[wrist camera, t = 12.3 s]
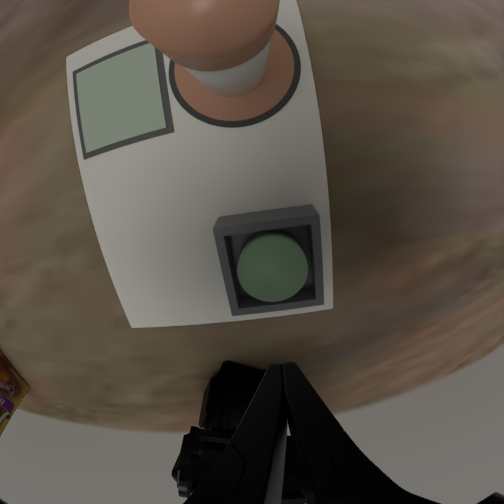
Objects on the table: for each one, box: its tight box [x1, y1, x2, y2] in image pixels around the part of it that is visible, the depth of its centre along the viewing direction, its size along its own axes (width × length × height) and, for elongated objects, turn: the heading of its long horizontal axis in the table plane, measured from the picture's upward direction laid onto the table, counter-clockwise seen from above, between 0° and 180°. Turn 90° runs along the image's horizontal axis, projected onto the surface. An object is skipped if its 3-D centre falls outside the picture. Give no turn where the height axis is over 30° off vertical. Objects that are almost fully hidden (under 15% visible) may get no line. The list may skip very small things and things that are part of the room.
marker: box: [129, 0, 280, 97], centre depth 9 cm, size 4×4×10 cm
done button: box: [237, 229, 308, 302], centre depth 17 cm, size 4×4×2 cm
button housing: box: [213, 204, 324, 316], centre depth 17 cm, size 6×6×2 cm
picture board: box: [66, 0, 333, 328], centre depth 16 cm, size 22×16×1 cm
